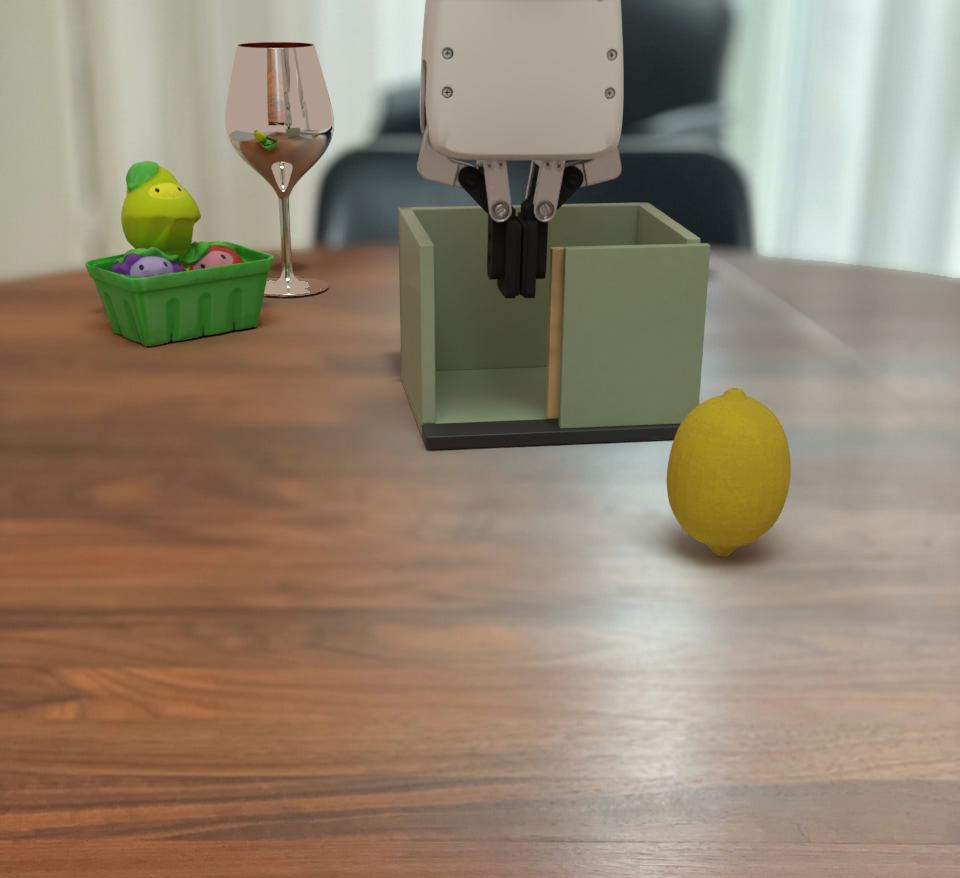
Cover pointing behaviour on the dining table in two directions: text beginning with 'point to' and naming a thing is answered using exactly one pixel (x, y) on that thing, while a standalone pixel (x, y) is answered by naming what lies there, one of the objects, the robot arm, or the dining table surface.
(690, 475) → the lemon
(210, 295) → the fruit basket
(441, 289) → the cupboard
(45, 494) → the dining table surface
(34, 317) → the dining table surface
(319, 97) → the wineglass
